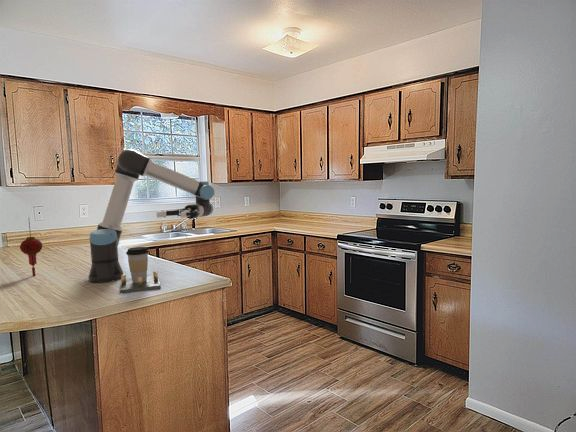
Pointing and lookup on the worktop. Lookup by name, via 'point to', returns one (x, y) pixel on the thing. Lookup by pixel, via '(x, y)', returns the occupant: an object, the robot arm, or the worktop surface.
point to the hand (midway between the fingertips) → (169, 214)
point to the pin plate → (140, 288)
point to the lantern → (31, 249)
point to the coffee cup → (138, 263)
